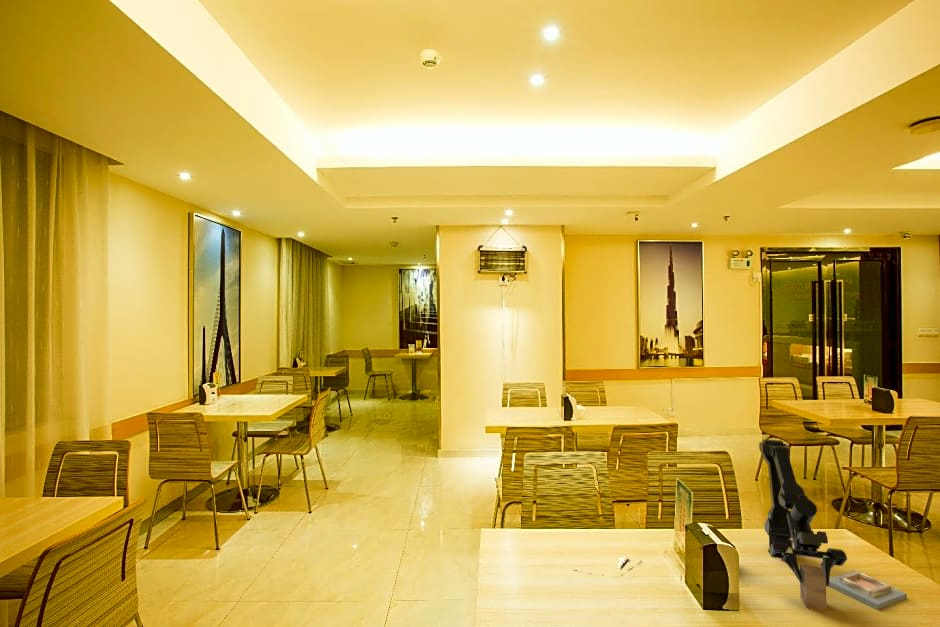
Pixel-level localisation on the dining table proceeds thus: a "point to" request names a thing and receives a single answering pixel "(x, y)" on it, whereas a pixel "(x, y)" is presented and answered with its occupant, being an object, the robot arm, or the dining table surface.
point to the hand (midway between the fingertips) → (814, 584)
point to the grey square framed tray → (867, 589)
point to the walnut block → (813, 587)
